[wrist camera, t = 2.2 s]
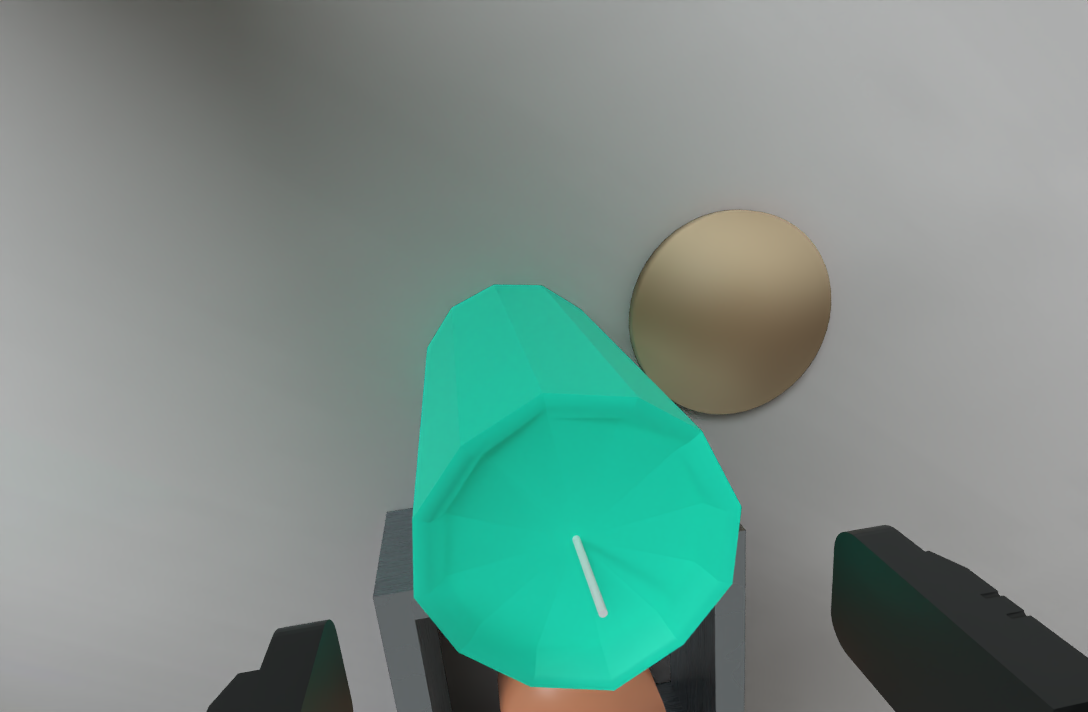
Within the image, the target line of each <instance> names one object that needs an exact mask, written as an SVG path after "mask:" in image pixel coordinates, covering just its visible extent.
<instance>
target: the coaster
mask: <svg viewBox="0 0 1088 712" xmlns="http://www.w3.org/2000/svg"><path fill="white" fill-rule="evenodd" d="M830 310H831V288H830V281H829V277H828V273H827V269H826V266H825V264H824V262H823V259H822V257H821V255H820V253H819V252H818V250H817V249H816V247H815V245H814V244H813V243H812V242H811V240H810V239H809V238H808V237H807V236H806V235H805V234H804V233H803V232H802V231H801V230H799V229H798V228H797V227H796V226H794V225H793V224H791V223H789V222H788V221H786V220H784V219H782V218H779V217H777V216H775V215H771V214H767V213H763V212H757V211H749V210H724V211H719V212H713V213H710V214H707V215H704V216H701V217H699V218H697V219H695V220H693V221H690V222H688V223H687V224H685V225H684V226H682V227H680V228H679V229H677V230H676V231H675V232H673V233H672V234H671V235H670V236H669V237H667V238H666V239H665V240H664V241H663V242H662V243H661V244H660V245H659V246H658V248H657V249H656V250H655V251H654V252H653V254H652V255H651V256H650V258H649V259H648V261H647V262H646V264H645V266H644V267H643V269H642V271H641V273H640V275H639V277H638V280H637V282H636V285H635V287H634V291H633V295H632V298H631V304H630V311H629V331H630V339H631V343H632V347H633V351H634V354H635V356H636V358H637V361H638V363H639V365H640V366H641V368H642V370H643V371H644V373H645V374H646V375H647V376H648V377H649V378H650V379H651V380H652V381H653V382H654V383H655V384H656V385H657V386H658V387H659V388H660V389H661V390H662V391H663V392H664V393H665V394H666V395H667V396H668V397H669V398H670V399H671V400H673V401H674V402H676V403H677V404H679V405H681V406H684V407H686V408H688V409H691V410H694V411H697V412H702V413H708V414H732V413H738V412H743V411H747V410H750V409H753V408H756V407H759V406H761V405H763V404H765V403H767V402H769V401H771V400H772V399H774V398H776V397H777V396H779V395H780V394H782V393H783V392H784V391H785V390H787V389H788V388H789V387H790V386H792V385H793V384H794V383H795V382H796V381H797V380H798V379H799V378H800V377H801V376H802V374H803V373H804V372H805V371H806V369H807V368H808V367H809V365H810V364H811V362H812V361H813V359H814V358H815V356H816V354H817V352H818V350H819V348H820V346H821V344H822V342H823V339H824V336H825V334H826V331H827V327H828V323H829V318H830Z"/></svg>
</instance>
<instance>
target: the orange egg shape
mask: <svg viewBox="0 0 1088 712" xmlns="http://www.w3.org/2000/svg"><path fill="white" fill-rule="evenodd" d="M498 692H499V702H500V711H501V712H666V710H665V707H664V704H663V701H662V699H661V696H660V694H659V691H658V689H657V687H656V684H655V682H654V679H653V677H652V675H651V672H650V670H649V668H648V669H646V670H645V671H643V672H642V673H640V674H639V675H637V676H636V677H634V678H633V679H631V680H630V681H628V682H627V683H625V684H624V685H622V686H621V687H619V688H618V689H616V690H615V691H610V690H588V689H565V688H543V687H530V686H527V685H525V684H523V683H521V682H519V681H517V680H515V679H513V678H511V677H509V676H507V675H505V674H502V673H500V672H498Z"/></svg>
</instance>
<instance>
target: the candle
mask: <svg viewBox="0 0 1088 712" xmlns="http://www.w3.org/2000/svg"><path fill="white" fill-rule="evenodd" d="M741 509H742V507H741V505H740V503H739V501H738V499H737V497H736V495H735V493H734V491H733V489H732V488H731V486H730V484H729V482H728V480H727V478H726V476H725V474H724V472H723V470H722V468H721V466H720V465H719V463H718V461H717V459H716V457H715V455H714V453H713V451H712V449H711V447H710V445H709V443H708V442H707V440H706V438H705V436H704V434H703V432H702V431H701V430H700V429H699V428H698V427H697V426H696V425H695V424H694V423H693V422H692V421H691V420H690V418H689V417H688V416H687V415H686V414H685V413H684V412H683V411H682V410H681V409H680V408H679V407H678V406H677V405H676V404H675V403H674V402H673V401H672V400H671V399H670V398H669V397H668V396H667V395H666V394H665V393H664V392H663V391H662V390H661V389H660V388H659V387H658V386H657V385H656V384H655V383H654V382H653V381H652V380H651V379H650V378H649V377H648V376H647V375H646V374H645V373H644V372H643V371H642V370H641V369H640V368H639V367H638V366H637V365H636V364H635V363H634V362H633V361H632V360H631V359H630V358H629V357H628V356H627V355H626V354H625V353H624V352H623V351H622V350H621V349H620V348H619V347H618V346H617V345H616V344H615V343H614V342H613V341H612V340H611V339H610V338H609V337H608V336H607V335H606V334H605V333H604V332H603V331H602V330H601V329H600V328H599V327H598V326H597V325H596V324H595V323H594V322H593V321H592V320H591V319H590V318H589V317H588V316H587V315H586V314H585V313H584V312H583V311H582V310H581V309H580V308H578V307H576V306H575V305H573V304H571V303H570V302H568V301H567V300H565V299H563V298H562V297H560V296H558V295H557V294H555V293H554V292H552V291H550V290H549V289H547V288H545V287H544V286H542V285H498V284H494V285H492V286H490V287H488V288H487V289H485V290H483V291H481V292H479V293H477V294H476V295H474V296H472V297H470V298H468V299H466V300H465V301H463V302H461V303H459V304H457V305H455V306H454V307H452V308H451V309H450V311H449V313H448V314H447V316H446V318H445V319H444V321H443V323H442V324H441V326H440V328H439V329H438V331H437V333H436V334H435V336H434V338H433V339H432V341H431V342H430V344H429V346H428V347H427V356H426V367H425V379H424V390H423V401H422V413H421V424H420V436H419V447H418V459H417V470H416V481H415V493H414V504H413V516H412V537H413V591H414V599H415V600H416V601H417V602H418V604H419V605H420V606H421V607H422V609H423V610H424V611H425V612H426V613H427V615H428V616H429V617H430V618H431V620H432V621H433V622H434V623H435V624H436V626H437V627H438V628H439V629H440V631H441V632H442V633H443V634H444V635H445V637H446V638H447V639H448V640H449V642H450V643H451V644H452V645H453V647H454V648H455V649H456V650H457V651H458V652H459V653H461V654H463V655H465V656H467V657H469V658H471V659H473V660H475V661H477V662H479V663H482V664H484V665H486V666H488V667H490V668H492V669H494V670H496V671H498V672H500V673H502V674H505V675H507V676H509V677H511V678H513V679H515V680H517V681H519V682H521V683H523V684H525V685H527V686H530V687H543V688H565V689H588V690H610V691H615V690H616V689H618V688H619V687H621V686H622V685H624V684H625V683H627V682H628V681H630V680H631V679H633V678H634V677H636V676H637V675H639V674H640V673H642V672H643V671H645V670H646V669H648V668H649V667H651V666H652V665H654V664H655V663H657V662H658V661H660V660H661V659H663V658H664V657H666V656H667V655H669V654H670V653H672V652H673V651H675V650H676V649H678V648H679V647H681V646H682V645H684V643H685V642H686V641H687V640H688V638H689V637H690V636H691V635H692V633H693V632H694V631H695V630H696V628H697V627H698V626H699V625H700V623H701V622H702V621H703V620H704V618H705V617H706V616H707V615H708V614H709V612H710V611H711V610H712V609H713V607H714V606H715V605H716V604H717V602H718V601H719V600H720V599H721V597H722V596H723V595H724V594H725V592H726V591H727V590H728V589H729V587H730V586H731V585H732V583H733V574H734V566H735V558H736V550H737V541H738V533H739V525H740V517H741Z"/></svg>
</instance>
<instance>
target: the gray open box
mask: <svg viewBox="0 0 1088 712" xmlns="http://www.w3.org/2000/svg"><path fill="white" fill-rule="evenodd" d="M412 516H413V508H410V509H404V510H398V511H392V512H387V514H386V520H385V526H384V532H383V539H382V545H381V551H380V557H379V563H378V570H377V576H376V582H375V588H374V594H373V599H374V604H375V609H376V614H377V618H378V623H379V628H380V632H381V637H382V642H383V647H384V651H385V656H386V661H387V665H388V670H389V675H390V680H391V684H392V689H393V694H394V698H395V703H396V708H397V712H452V709H451V703H450V697H449V692H448V686H447V681H446V675H445V669H444V664H443V658H442V652H441V647H440V641H439V635H438V630H437V626H436V624H435V623H434V622H433V621H432V620H431V618H430V617H429V616H428V615H427V613H426V612H425V611H424V610H423V609H422V607H421V606H420V605H419V604H418V602H417V601H416V600H415V599H414V591H413V537H412ZM745 550H746V530H745V529H744V528H743V527H742V525H741V524H740V525H739V533H738V541H737V550H736V558H735V566H734V574H733V583H732V585H731V586H730V587H729V589H728V590H727V591H726V592H725V594H724V595H723V596H722V597H721V599H720V600H719V601H718V602H717V604H716V605H715V606H714V607H713V609H712V610H711V611H710V612H709V614H708V615H707V616H706V617H705V618H704V620H703V621H702V622H701V623H700V625H699V626H698V627H697V628H696V630H695V631H694V632H693V633H692V635H691V636H690V637H689V638H688V640H687V641H686V642H685V643H684V645H682V646H681V647H679V648H678V649H676V650H675V651H673V652H672V653H670V666H671V682H669V683H664V684H659V685H656V687H657V689H658V691H659V694H660V696H661V699H662V701H663V704H664V707H665V710H666V712H744V686H745Z"/></svg>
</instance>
